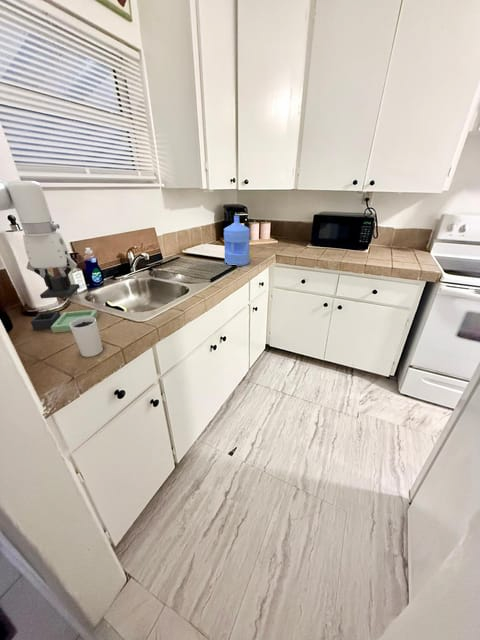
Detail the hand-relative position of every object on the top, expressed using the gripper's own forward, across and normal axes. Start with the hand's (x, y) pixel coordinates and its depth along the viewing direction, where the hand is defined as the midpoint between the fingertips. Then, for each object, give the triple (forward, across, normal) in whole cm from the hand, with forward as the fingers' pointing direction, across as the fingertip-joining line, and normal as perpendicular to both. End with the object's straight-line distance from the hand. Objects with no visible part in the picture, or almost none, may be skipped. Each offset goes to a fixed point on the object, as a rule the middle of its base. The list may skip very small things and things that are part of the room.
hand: (59, 287), depth 84 cm
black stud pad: (+2, 0, 0) cm, 2 cm away
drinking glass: (+15, -11, +16) cm, 25 cm away
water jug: (+15, -71, -70) cm, 101 cm away
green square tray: (+15, 0, -4) cm, 16 cm away
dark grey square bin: (+15, +10, -4) cm, 19 cm away
